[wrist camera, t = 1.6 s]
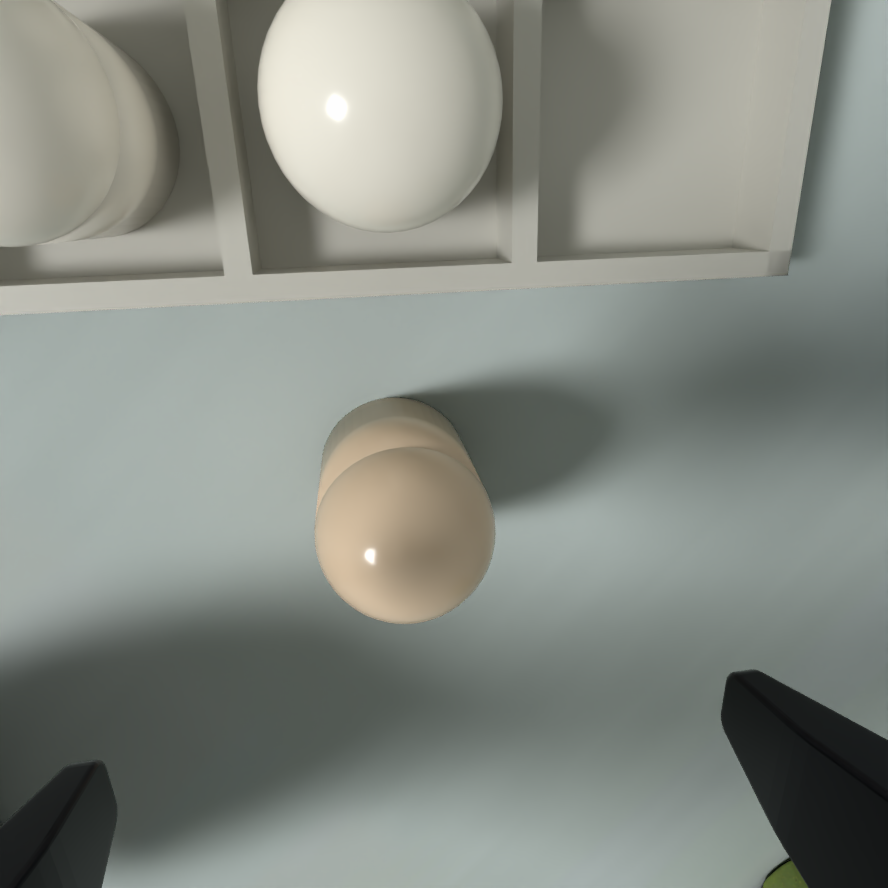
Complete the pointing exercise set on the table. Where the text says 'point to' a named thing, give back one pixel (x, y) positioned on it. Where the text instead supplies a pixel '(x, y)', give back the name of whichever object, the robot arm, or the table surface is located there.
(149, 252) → the carton
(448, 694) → the table surface
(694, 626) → the table surface
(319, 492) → the brown egg
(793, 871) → the plant pot
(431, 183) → the egg
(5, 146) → the egg
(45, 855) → the robot arm
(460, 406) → the table surface
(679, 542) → the table surface
